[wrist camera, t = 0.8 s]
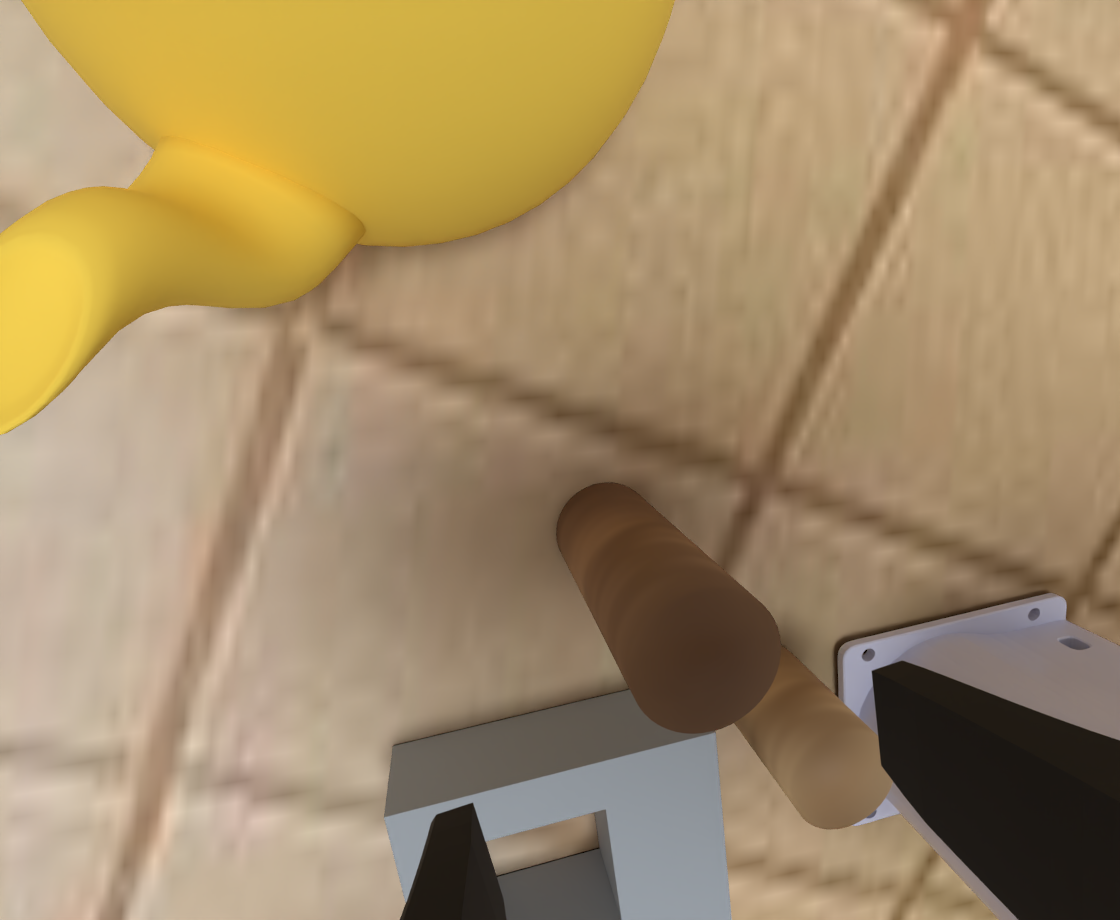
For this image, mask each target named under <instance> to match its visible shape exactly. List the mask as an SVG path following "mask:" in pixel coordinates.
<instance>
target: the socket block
mask: <svg viewBox="0 0 1120 920" xmlns="http://www.w3.org/2000/svg"><path fill="white" fill-rule="evenodd" d="M470 803H473V804H474V807H475V810H476V813H477V817H478V820H479V823H480V826H481V829H482V832H483V836H484V839H485V841H489V840H493V839H496V838H500V837H504V836H508V835H511V834H515V833H519V832H522V831H526V830H530V829H534V828H537V827H541V826H545V825H549V824H552V823H556V822H560V821H563V820H567V819H571V818H575V817H578V816H582V815H586V814H590V813H593V812H594V813H595V820H596V827H597V833H598V840H599V847H600V848H599V849H596V850H592V851H589V852H585V853H581V854H578V855H574V856H571V857H567V858H563V859H560V860H556V861H552V862H549V863H545V864H542V865H538V866H534V867H531V868H527V869H524V870H520V871H516V872H513V873H509V874H506V875H502V876H498V877H497V880H498V883H499V886H500V889H501V892H502V895H503V898H504V905H505V912H506V919H507V920H732V919H731V907H730V896H729V884H728V872H727V861H726V849H725V837H724V826H723V814H722V802H721V791H720V779H719V767H718V756H717V744H716V733H715V731H711V732H706V733H698V734H687V733H679V732H674V731H671V730H668V729H666V728H663V727H661V726H659V725H658V724H656V723H655V722H653V721H652V720H651V719H649V718H648V717H647V716H646V715H645V714H644V713H643V711H642V710H641V709H640V707H639V706H638V704H637V702H636V700H635V699H634V697H633V695H632V693H631V691H630V689H629V690H625V691H621V692H616V693H612V694H608V695H604V696H600V697H596V698H591V699H587V700H583V701H579V702H575V703H571V704H566V705H562V706H558V707H554V708H550V709H546V710H541V711H537V712H533V713H529V714H525V715H521V716H516V717H512V718H508V719H504V720H500V721H495V722H491V723H487V724H483V725H479V726H475V727H470V728H466V729H462V730H458V731H454V732H450V733H445V734H441V735H437V736H433V737H429V738H425V739H420V740H416V741H412V742H408V743H404V744H400V745H395V746H393V749H392V758H391V766H390V774H389V782H388V790H387V798H386V806H385V814H384V819H385V823H386V827H387V831H388V835H389V839H390V843H391V847H392V851H393V855H394V859H395V863H396V867H397V871H398V874H399V878H400V882H401V886H402V890H403V894H404V898H405V902H407V899H408V896H409V893H410V890H411V887H412V884H413V881H414V878H415V875H416V872H417V869H418V866H419V863H420V859H421V856H422V853H423V849H424V846H425V843H426V839H427V836H428V832H429V829H430V825H431V822H432V820H433V819H434V817H435V816H436V814H439V813H442V812H445V811H448V810H451V809H454V808H458V807H461V806H464V805H467V804H470Z"/></svg>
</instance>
